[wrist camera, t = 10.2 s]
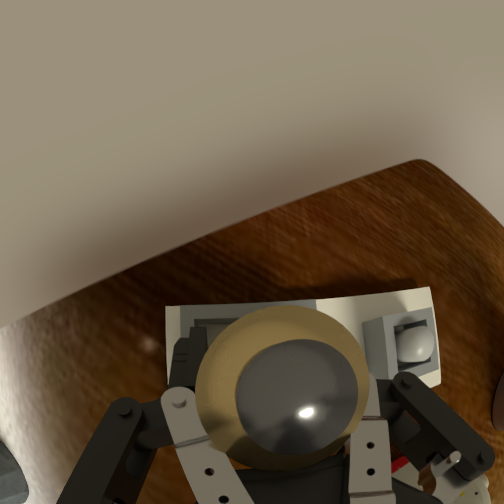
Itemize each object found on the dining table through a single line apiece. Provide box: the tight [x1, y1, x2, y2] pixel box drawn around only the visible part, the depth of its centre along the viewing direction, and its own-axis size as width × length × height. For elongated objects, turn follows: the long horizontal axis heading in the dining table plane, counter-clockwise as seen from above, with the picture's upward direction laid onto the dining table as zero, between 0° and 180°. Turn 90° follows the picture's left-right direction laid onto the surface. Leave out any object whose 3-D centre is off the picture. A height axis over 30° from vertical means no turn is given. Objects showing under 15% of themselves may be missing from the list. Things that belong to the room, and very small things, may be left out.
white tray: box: [166, 287, 441, 388], centre depth 16 cm, size 22×9×6 cm, turn 94°
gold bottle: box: [195, 305, 370, 471], centre depth 10 cm, size 5×5×11 cm
